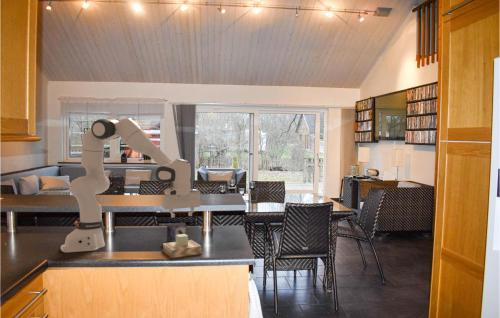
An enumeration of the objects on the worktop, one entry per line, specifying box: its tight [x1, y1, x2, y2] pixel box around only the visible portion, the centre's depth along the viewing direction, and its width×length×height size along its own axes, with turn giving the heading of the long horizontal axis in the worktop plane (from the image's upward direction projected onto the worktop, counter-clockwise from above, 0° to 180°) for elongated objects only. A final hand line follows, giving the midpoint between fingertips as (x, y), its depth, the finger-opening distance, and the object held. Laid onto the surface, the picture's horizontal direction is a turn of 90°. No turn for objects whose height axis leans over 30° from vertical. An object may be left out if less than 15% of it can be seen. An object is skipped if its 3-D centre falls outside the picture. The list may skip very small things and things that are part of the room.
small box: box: [166, 222, 187, 243], centre depth 241 cm, size 11×6×10 cm, turn 105°
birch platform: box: [162, 239, 202, 259], centre depth 222 cm, size 16×14×4 cm
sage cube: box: [176, 233, 189, 246], centre depth 222 cm, size 5×5×5 cm
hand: (181, 216), depth 221 cm, fingers open, 8 cm apart
